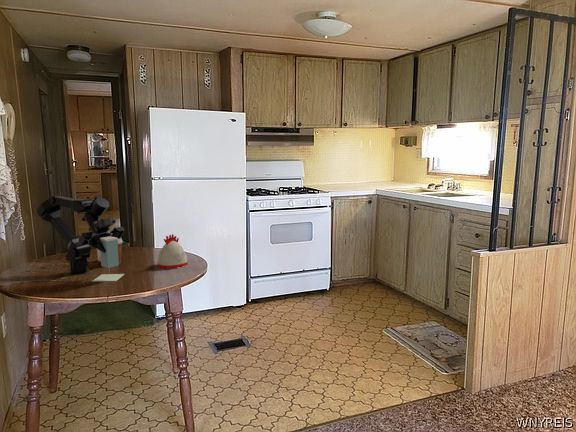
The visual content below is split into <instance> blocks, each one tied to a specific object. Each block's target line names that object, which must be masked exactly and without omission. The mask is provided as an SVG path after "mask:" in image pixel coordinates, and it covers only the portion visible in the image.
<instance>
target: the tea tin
mask: <svg viewBox="0 0 576 432" xmlns="http://www.w3.org/2000/svg"><path fill="white" fill-rule="evenodd" d="M117 240H118V238H116V237H112V236H109V237H104V238H100V241H101V243H102V245H103V246H104V248H105V250H106V253H103V252H102V251H100V252H101V262H100V266H101V267H103V268H106V269H111V268H113V267H114V268H115V267H118V266H120V264H119V259H118V241H117Z"/></svg>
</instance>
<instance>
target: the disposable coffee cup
mask: <svg viewBox="0 0 576 432" xmlns="http://www.w3.org/2000/svg"><path fill="white" fill-rule="evenodd" d="M117 241H118V259H119V265H120V264H121V263H122V246H123V242H124V241H123V239H122V237H121V238H119V239H118V240H117Z"/></svg>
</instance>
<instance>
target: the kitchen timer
mask: <svg viewBox="0 0 576 432" xmlns="http://www.w3.org/2000/svg"><path fill="white" fill-rule="evenodd" d="M168 235H169V236H168ZM168 235H166V236H165V238H163V242H164V243H165V244H164V245H163V246H162V247H161V250H160V251H159V253H158V258H157V267H158V268H159V267H160V268H159V269H163V268H175V269H178V268H177V267H181V268H183V267H182V266H184V267H186V266H188V265H189V264H188V263H189V261H188V256H187V254H186V251H185V249H184V247H183V246H182V245H181V244H180V243H179V239H180V237H177V236H176V235H174V234H168ZM185 265H186V266H185Z"/></svg>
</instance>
